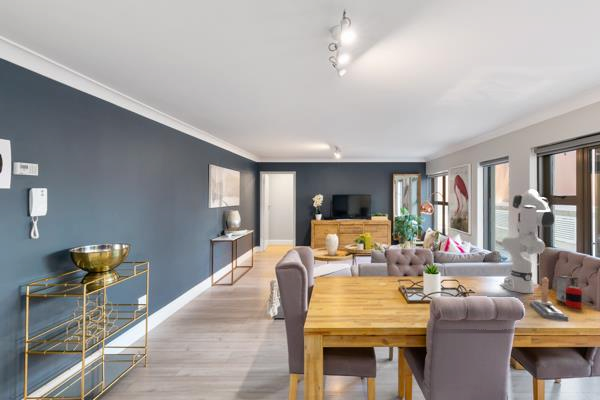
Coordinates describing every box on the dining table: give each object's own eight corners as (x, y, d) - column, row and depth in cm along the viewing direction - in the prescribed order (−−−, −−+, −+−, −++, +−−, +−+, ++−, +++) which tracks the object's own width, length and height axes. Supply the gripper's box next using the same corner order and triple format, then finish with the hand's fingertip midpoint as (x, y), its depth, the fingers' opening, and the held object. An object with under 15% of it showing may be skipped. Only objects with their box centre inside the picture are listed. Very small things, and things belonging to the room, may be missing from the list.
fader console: (529, 304, 197) (530, 299, 197) (550, 307, 194) (551, 301, 194) (544, 317, 177) (544, 311, 177) (568, 320, 173) (568, 314, 173)
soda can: (564, 306, 196) (565, 287, 196) (566, 303, 201) (566, 284, 201) (580, 309, 191) (581, 290, 191) (581, 306, 196) (582, 287, 196)
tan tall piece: (536, 303, 193) (537, 276, 193) (548, 305, 191) (549, 277, 191) (539, 306, 189) (540, 278, 188) (552, 307, 186) (553, 279, 186)
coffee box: (567, 298, 210) (568, 275, 210) (577, 302, 204) (578, 277, 204) (556, 299, 209) (557, 275, 208) (566, 302, 202) (566, 278, 202)
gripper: (540, 233, 185) (540, 256, 186) (528, 229, 205) (527, 250, 205) (528, 232, 187) (527, 255, 188) (516, 229, 207) (516, 250, 207)
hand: (527, 253), depth 197 cm, fingers open, 8 cm apart
